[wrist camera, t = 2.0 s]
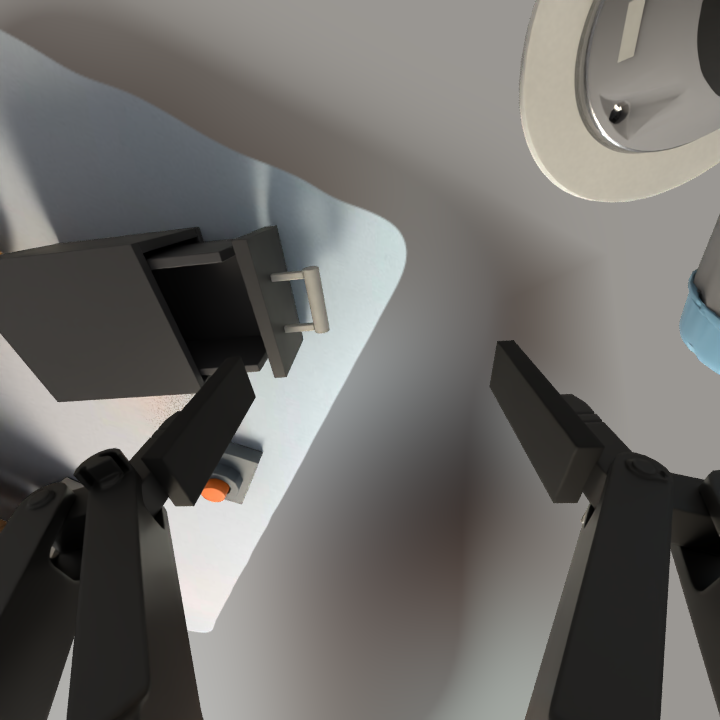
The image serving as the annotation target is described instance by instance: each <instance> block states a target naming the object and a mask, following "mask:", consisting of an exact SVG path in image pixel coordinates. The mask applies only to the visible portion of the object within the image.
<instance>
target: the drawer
mask: <svg viewBox="0 0 720 720" xmlns="http://www.w3.org/2000/svg"><path fill="white" fill-rule="evenodd" d="M143 255H144V257H145V259H146V261H147V263H148V265H149V267H150V269H151V272H152V274H153V276H154V278H155V280H156V282H157V284H158V286H159V288H160V291H161V293H162V295H163V297H164V299H165V301H166V303H167V305H168V307H169V309H170V312H171V314H172V316H173V318H174V320H175V322H176V324H177V326H178V328H179V330H180V333H181V335H182V337H183V339H184V341H185V343H186V345H187V347H188V349H189V351H190V354H191V356H192V358H193V360H194V362H195V364H196V366H197V368H198V370H199V372H200V375H213V373H214V372H215V371H216V370H217V369H218V368H219V366H220V365H221V364H222V363H223V362H224V361H225V359H226V358H227V357H241V358H242V361H243V363H244V366H245V369H246V372H258V371H260V370H261V369H262V367H263V365H264V364H265V362H266V360H267V359H268V358H269V362H270V365H271V368H272V371H273V374H274V377H275V378H279V377H287V375H288V372H289V370H290V368H291V366H292V364H293V361H294V359H295V357H296V355H297V352H298V350H299V348H300V346H301V343H302V341H303V336H302V332H301V331H313V330H315V332H316V333H320V334H321V333H326V332H328V331H329V323H328V318H327V312H326V307H325V301H324V295H323V290H322V284H321V278H320V273H319V267H317V266H310V267H306V268H304V269H303V271H294V272H287V268H286V263H285V259H284V255H283V250H282V246H281V242H280V238H279V233H278V229H277V226H268V227H263V228H261V229H258V230H256V231H253V232H251V233H248V234H246V235H243V236H241V237H239V238H236V239H227V240H218V241H209V242H200V243H191V244H183V245H174V246H165V247H162V248H158V249H155V250H152V251H149V252H145V253H143ZM296 279H304V280H305V284H306V289H307V294H308V299H309V304H310V309H311V313H312V318H313V323H303V324H300V323H299V319H298V314H297V310H296V306H295V302H294V297H293V293H292V289H291V285H290V280H296Z"/></svg>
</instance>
